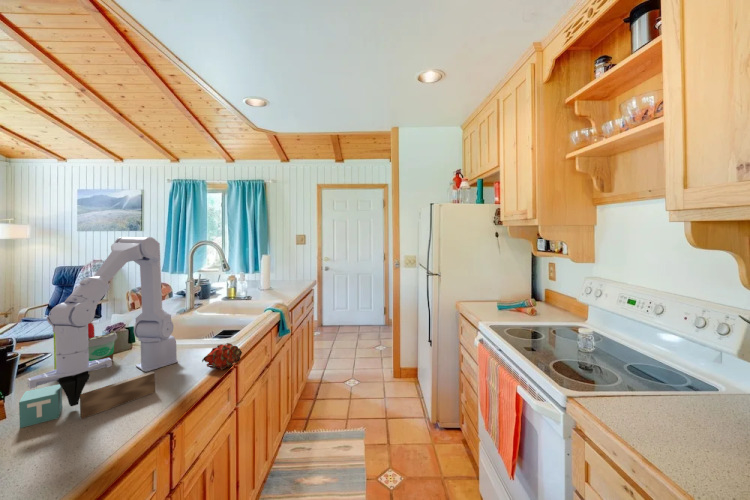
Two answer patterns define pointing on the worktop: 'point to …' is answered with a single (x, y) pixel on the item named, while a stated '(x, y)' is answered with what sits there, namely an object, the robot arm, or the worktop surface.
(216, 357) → the dragon fruit
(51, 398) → the teal cube
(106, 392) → the walnut block
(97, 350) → the food container
